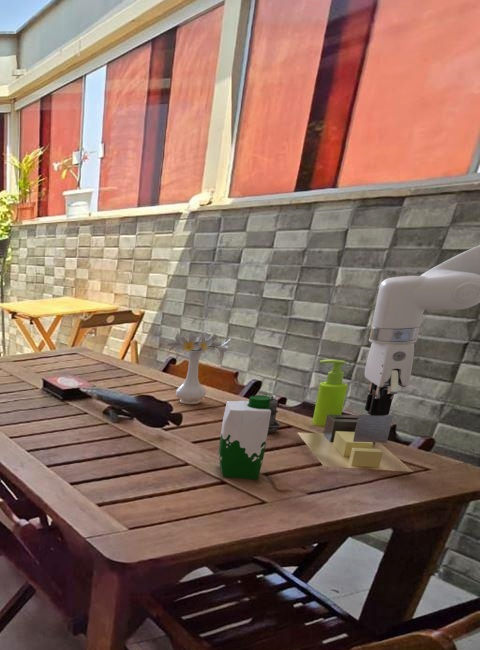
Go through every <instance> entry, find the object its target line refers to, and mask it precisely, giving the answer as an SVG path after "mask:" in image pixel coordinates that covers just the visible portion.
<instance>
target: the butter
mask: <svg viewBox="0 0 480 650" xmlns="http://www.w3.org/2000/svg"><path fill="white" fill-rule="evenodd" d="M354 434H355V432H344V431H336V432H335V437H334V442H333V446H334V447H335V448H336V449H337V450H338V451H339V452H340V454H341V455H342V456H343V457H350V454H351V450H352V448H366V449H372V447H373V443H372V442H353V438H354Z"/></svg>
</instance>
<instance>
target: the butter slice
mask: <svg viewBox="0 0 480 650" xmlns="http://www.w3.org/2000/svg"><path fill="white" fill-rule="evenodd" d="M382 454H383V452H382V451H381V450H380V449H366V448H352V450H351V454H350V459H349V464H350V465H351V466H363V467H379V466H380V462H381V458H382Z"/></svg>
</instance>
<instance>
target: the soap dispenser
mask: <svg viewBox="0 0 480 650" xmlns="http://www.w3.org/2000/svg"><path fill="white" fill-rule="evenodd" d="M318 362H319V364H333V366H332V370H330V371H328V372H327V376H326V379H325V380H326V381H322V382H320V383H319V387H318V392H317V397H316V402H315V405H314V406H315V407H314V411H313V417H312V422H311V423H312V424H313V425H315V426H318V427H324V428H325V423H326V418H327V414H329V415H342V414H343V408H344V405H345V404H344V403H345V399H346V395H347V390H348V387H349V385H348V383H344V382H343V381H344V376H345V372H344V371H342V366H343V365H345V364H346V363H347V362H346V360H342V359H332V358H331V359H321V360H319V361H318Z"/></svg>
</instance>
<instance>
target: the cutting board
mask: <svg viewBox="0 0 480 650" xmlns="http://www.w3.org/2000/svg"><path fill="white" fill-rule="evenodd" d="M297 435H298V436H299V437H300V438H301V440H302V441H303V442H304V443H305V444H306V446H307V447H308V448H309V450H310V451H311V452H312V454H314V456H315V457H316V458H317V460H318V461H319V462H320V463H321V465H322V466H323V467H328V468H342V469H344V468H345V469H359V470H360V469H361V470H374V471H375V470H377V471H393V472H404V473H405V472H406V473H407V472H408V473H414V471H413V470H412V469H411V468H409V466H407V465H406V464H405V463H404V462H403V461H402V460H400V459H399V458H398V457H397V456H396V455H395V454H393V452H391V450H389V449H388V448H387V447H385V445H383V443H376V442H375V444H373V447H372V449H380V450H381V451H382V452H383V454H382V458H381V462H380V466H379V467H363V466H351V465H350V464H349V459H350V457H343V456H342V455H341V454H340V452H339V451H338V450H337V449H336V448H335V447H334V446H333V442H330V441H329V440H328V439H327V438H326V437H325V436H324V435H323V433H319V432H297Z"/></svg>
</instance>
